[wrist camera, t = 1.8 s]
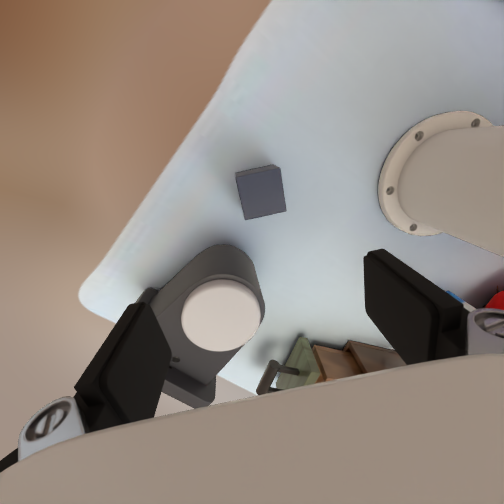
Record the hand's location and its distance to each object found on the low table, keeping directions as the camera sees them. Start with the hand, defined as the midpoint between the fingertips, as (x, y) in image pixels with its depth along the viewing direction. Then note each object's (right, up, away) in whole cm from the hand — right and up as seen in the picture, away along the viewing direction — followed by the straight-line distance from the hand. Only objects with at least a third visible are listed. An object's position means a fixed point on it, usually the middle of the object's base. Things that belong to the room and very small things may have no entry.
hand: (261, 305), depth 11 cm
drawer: (+8, -14, +25) cm, 30 cm away
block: (0, +9, +15) cm, 18 cm away
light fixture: (-6, -1, +20) cm, 21 cm away
